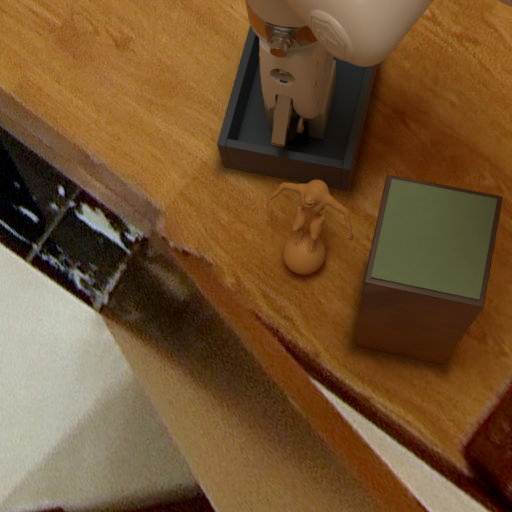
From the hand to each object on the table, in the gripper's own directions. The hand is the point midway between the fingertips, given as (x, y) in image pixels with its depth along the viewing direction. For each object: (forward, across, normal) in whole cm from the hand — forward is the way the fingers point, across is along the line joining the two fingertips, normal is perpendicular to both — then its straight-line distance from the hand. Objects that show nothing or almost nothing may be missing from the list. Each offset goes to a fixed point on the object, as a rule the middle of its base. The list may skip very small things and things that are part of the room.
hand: (301, 103), depth 84 cm
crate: (+2, 0, 0) cm, 2 cm away
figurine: (+2, -14, -4) cm, 15 cm away
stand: (+2, -18, -14) cm, 23 cm away
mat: (-20, -18, -14) cm, 30 cm away
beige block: (+1, 0, 0) cm, 1 cm away
